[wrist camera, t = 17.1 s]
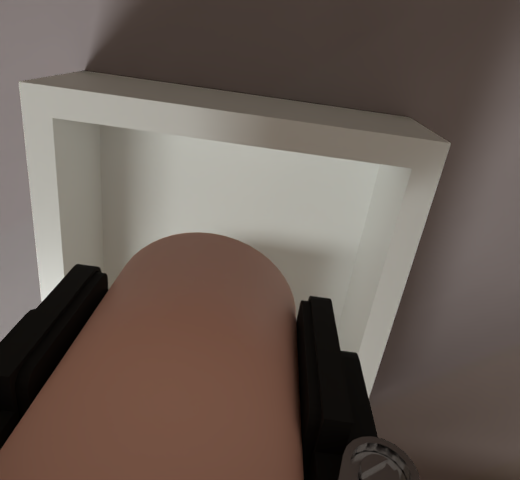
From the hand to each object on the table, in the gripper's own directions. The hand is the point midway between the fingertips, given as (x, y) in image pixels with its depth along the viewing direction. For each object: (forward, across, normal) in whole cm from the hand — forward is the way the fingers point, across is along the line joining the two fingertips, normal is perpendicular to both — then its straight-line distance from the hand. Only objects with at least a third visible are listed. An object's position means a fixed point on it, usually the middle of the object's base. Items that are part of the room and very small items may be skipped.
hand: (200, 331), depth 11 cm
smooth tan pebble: (+1, 0, 0) cm, 1 cm away
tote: (+10, 0, +4) cm, 11 cm away
